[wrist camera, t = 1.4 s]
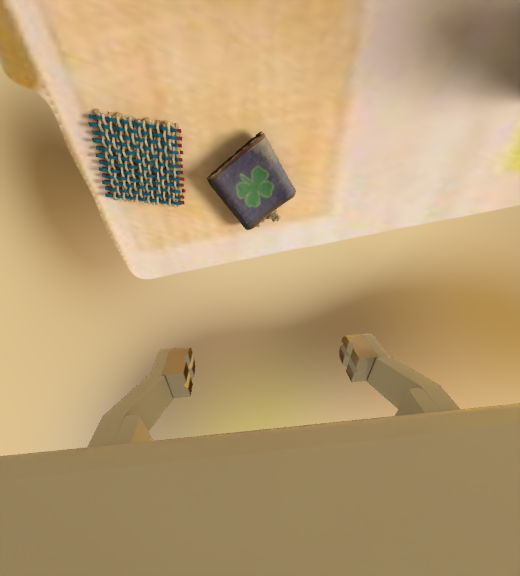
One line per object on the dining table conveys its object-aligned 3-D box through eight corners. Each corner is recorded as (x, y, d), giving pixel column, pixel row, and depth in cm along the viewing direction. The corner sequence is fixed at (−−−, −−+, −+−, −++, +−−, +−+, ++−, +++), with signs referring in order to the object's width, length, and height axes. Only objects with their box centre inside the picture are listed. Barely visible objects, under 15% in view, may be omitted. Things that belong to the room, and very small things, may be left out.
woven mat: (187, 206, 34) (184, 210, 33) (111, 198, 33) (105, 201, 31) (183, 123, 29) (180, 122, 27) (92, 107, 27) (83, 106, 25)
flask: (264, 130, 27) (304, 204, 33) (259, 130, 29) (298, 199, 35) (205, 181, 29) (254, 241, 35) (205, 177, 31) (251, 234, 37)
